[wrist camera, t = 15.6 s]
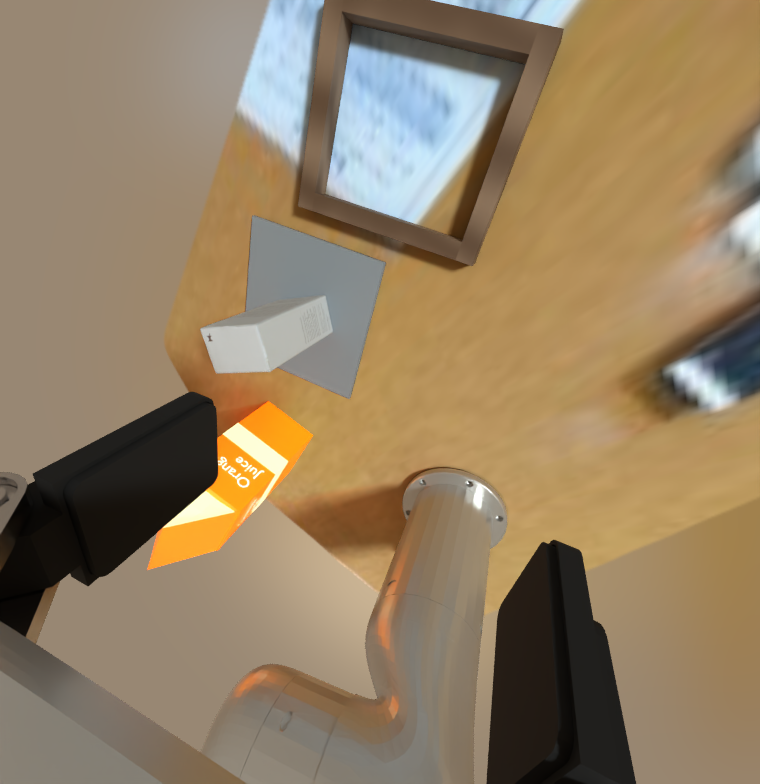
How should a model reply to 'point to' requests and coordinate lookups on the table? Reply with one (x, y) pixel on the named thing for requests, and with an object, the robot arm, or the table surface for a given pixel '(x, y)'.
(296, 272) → the rubber mat
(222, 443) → the orange juice
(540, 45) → the brown square frame
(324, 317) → the skincare box
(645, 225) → the table surface
